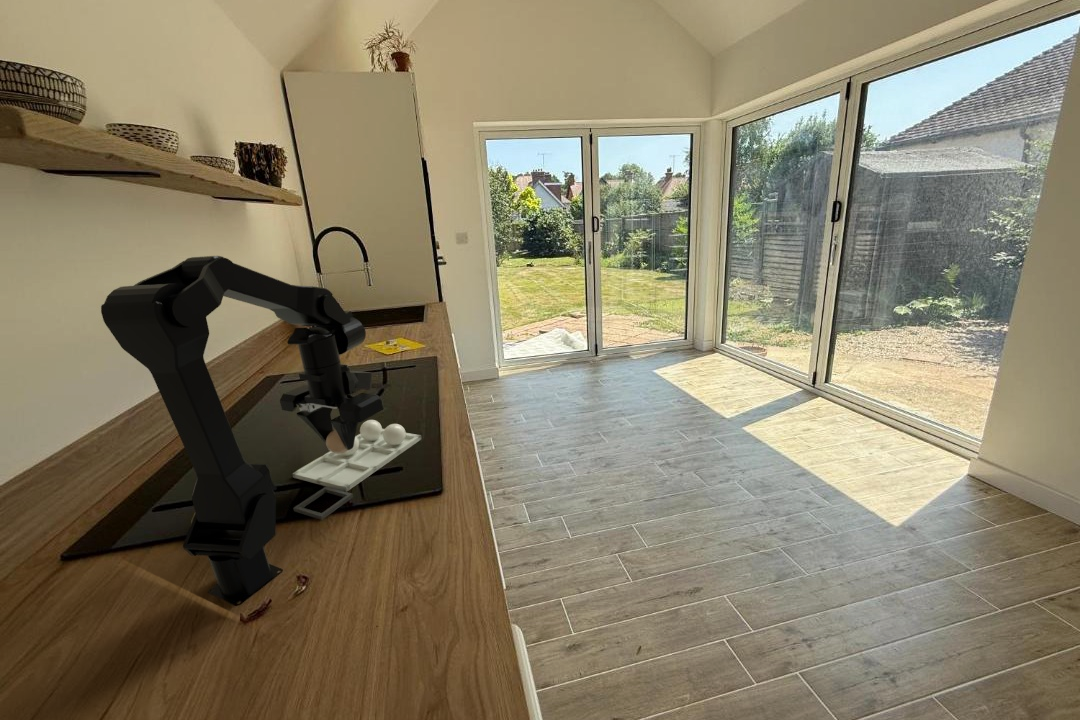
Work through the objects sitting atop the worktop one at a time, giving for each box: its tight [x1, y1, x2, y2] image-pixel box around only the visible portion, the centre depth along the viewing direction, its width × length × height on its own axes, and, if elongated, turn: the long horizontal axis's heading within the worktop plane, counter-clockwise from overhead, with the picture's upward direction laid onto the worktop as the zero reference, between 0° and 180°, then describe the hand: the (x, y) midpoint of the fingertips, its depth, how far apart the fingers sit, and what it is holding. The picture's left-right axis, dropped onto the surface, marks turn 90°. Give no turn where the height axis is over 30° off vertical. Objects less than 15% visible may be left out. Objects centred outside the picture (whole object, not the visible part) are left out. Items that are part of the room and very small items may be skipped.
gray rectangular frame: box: [293, 486, 354, 521], centre depth 76 cm, size 6×6×1 cm
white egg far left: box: [383, 423, 407, 446], centre depth 94 cm, size 4×4×4 cm
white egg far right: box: [359, 419, 383, 441], centre depth 97 cm, size 4×4×4 cm
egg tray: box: [291, 428, 422, 492], centre depth 91 cm, size 14×20×2 cm
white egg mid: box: [341, 435, 359, 456], centre depth 91 cm, size 4×4×4 cm
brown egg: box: [325, 429, 348, 454], centre depth 82 cm, size 4×4×4 cm
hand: (340, 446), depth 82 cm, fingers closed on brown egg, 4 cm apart
